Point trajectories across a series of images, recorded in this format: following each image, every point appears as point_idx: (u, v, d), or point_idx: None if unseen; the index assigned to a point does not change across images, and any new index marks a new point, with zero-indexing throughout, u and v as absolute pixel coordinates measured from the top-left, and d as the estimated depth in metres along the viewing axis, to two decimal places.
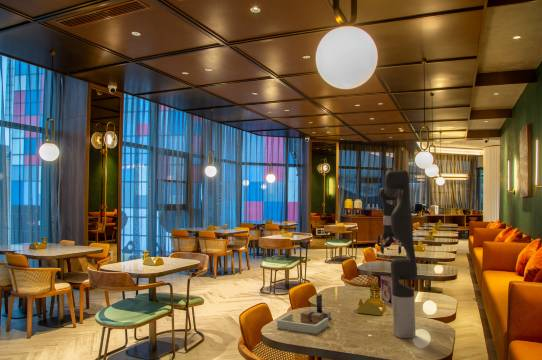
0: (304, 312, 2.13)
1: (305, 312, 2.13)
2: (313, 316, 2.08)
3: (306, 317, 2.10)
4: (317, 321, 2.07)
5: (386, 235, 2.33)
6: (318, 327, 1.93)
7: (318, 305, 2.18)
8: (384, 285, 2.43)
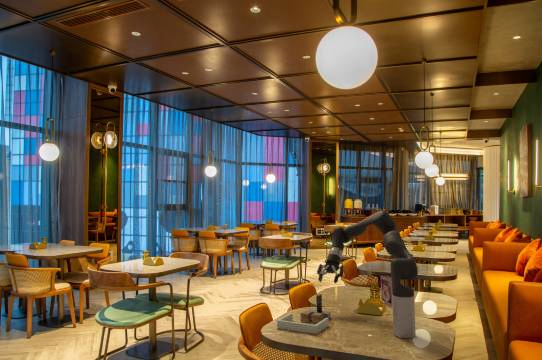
0: (304, 312, 2.13)
1: (305, 312, 2.13)
2: (313, 316, 2.08)
3: (306, 317, 2.10)
4: (317, 321, 2.07)
5: None
6: (318, 327, 1.93)
7: (318, 305, 2.18)
8: (383, 285, 2.43)
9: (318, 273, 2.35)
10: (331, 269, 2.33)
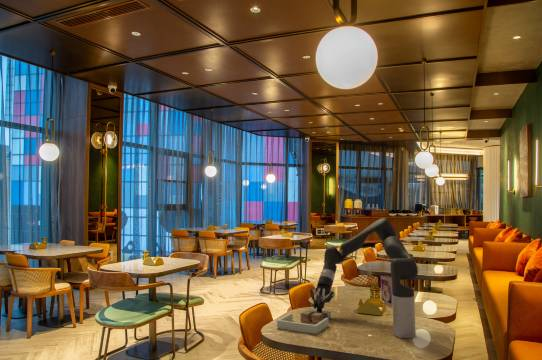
0: (304, 312, 2.13)
1: (305, 312, 2.13)
2: (313, 316, 2.08)
3: (306, 317, 2.10)
4: (317, 321, 2.07)
5: None
6: (318, 327, 1.93)
7: (318, 305, 2.18)
8: (383, 285, 2.43)
9: (313, 299, 2.22)
10: (321, 292, 2.22)
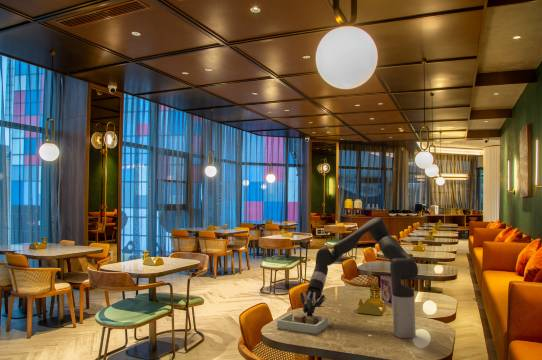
0: (297, 315, 2.06)
1: (299, 315, 2.06)
2: (307, 319, 2.02)
3: (299, 320, 2.04)
4: None
5: None
6: (318, 327, 1.93)
7: (308, 309, 2.09)
8: (383, 285, 2.43)
9: (303, 303, 2.12)
10: (312, 295, 2.13)
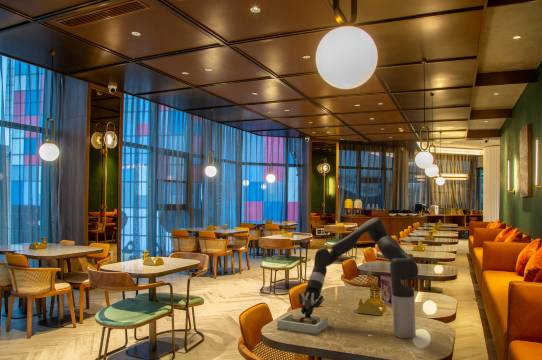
0: (295, 317, 2.04)
1: (296, 317, 2.04)
2: (305, 321, 2.00)
3: (297, 322, 2.01)
4: None
5: None
6: (318, 327, 1.93)
7: (306, 310, 2.06)
8: (384, 285, 2.43)
9: (301, 304, 2.09)
10: (310, 296, 2.10)
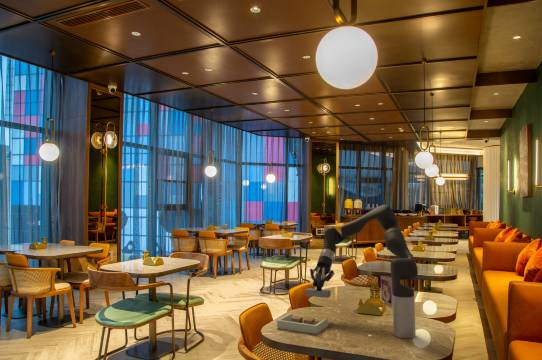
0: (295, 317, 2.04)
1: (296, 317, 2.04)
2: (305, 321, 2.00)
3: (297, 322, 2.01)
4: None
5: None
6: (318, 327, 1.93)
7: (318, 283, 2.19)
8: (384, 285, 2.43)
9: (312, 278, 2.22)
10: (321, 271, 2.23)
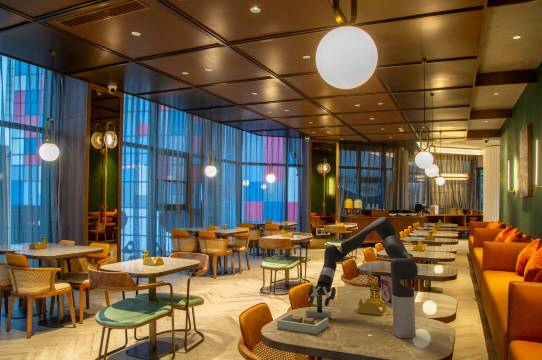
0: (295, 317, 2.04)
1: (296, 317, 2.04)
2: (305, 321, 2.00)
3: (297, 322, 2.01)
4: None
5: None
6: (318, 327, 1.93)
7: (318, 305, 2.18)
8: (383, 285, 2.43)
9: (309, 295, 2.23)
10: (322, 291, 2.22)
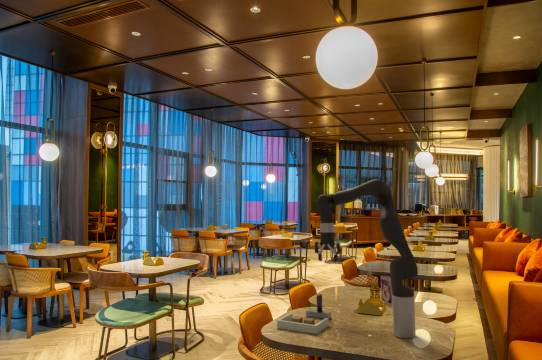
0: (295, 317, 2.04)
1: (296, 317, 2.04)
2: (305, 321, 2.00)
3: (297, 322, 2.01)
4: None
5: None
6: (318, 327, 1.93)
7: (318, 305, 2.18)
8: (384, 285, 2.43)
9: (316, 252, 2.34)
10: (328, 248, 2.30)
